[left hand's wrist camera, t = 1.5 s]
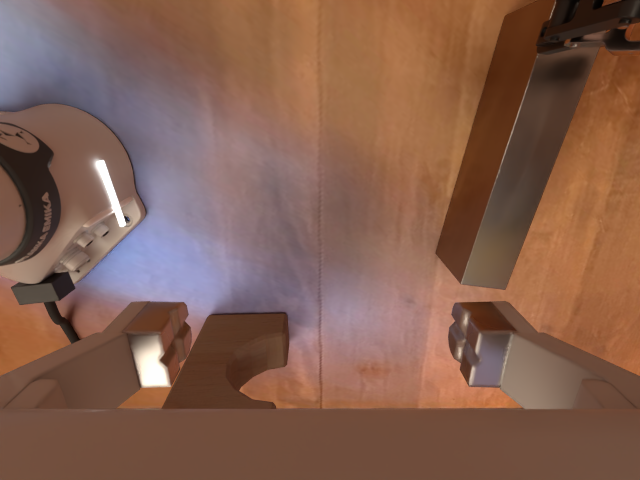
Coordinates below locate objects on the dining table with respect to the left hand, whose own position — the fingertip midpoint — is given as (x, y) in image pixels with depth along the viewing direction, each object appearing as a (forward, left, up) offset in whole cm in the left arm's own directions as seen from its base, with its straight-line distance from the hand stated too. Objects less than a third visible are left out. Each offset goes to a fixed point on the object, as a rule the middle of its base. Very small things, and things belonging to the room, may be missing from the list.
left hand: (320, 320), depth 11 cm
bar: (+13, -15, -32) cm, 38 cm away
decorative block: (-24, -7, -32) cm, 40 cm away
